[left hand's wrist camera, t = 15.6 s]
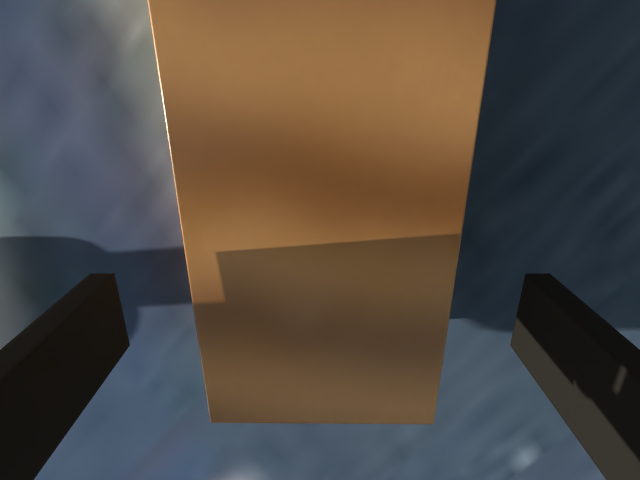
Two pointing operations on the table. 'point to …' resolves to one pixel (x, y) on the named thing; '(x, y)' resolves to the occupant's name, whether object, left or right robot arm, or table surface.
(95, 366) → the left robot arm
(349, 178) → the wide beam
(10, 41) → the table surface
